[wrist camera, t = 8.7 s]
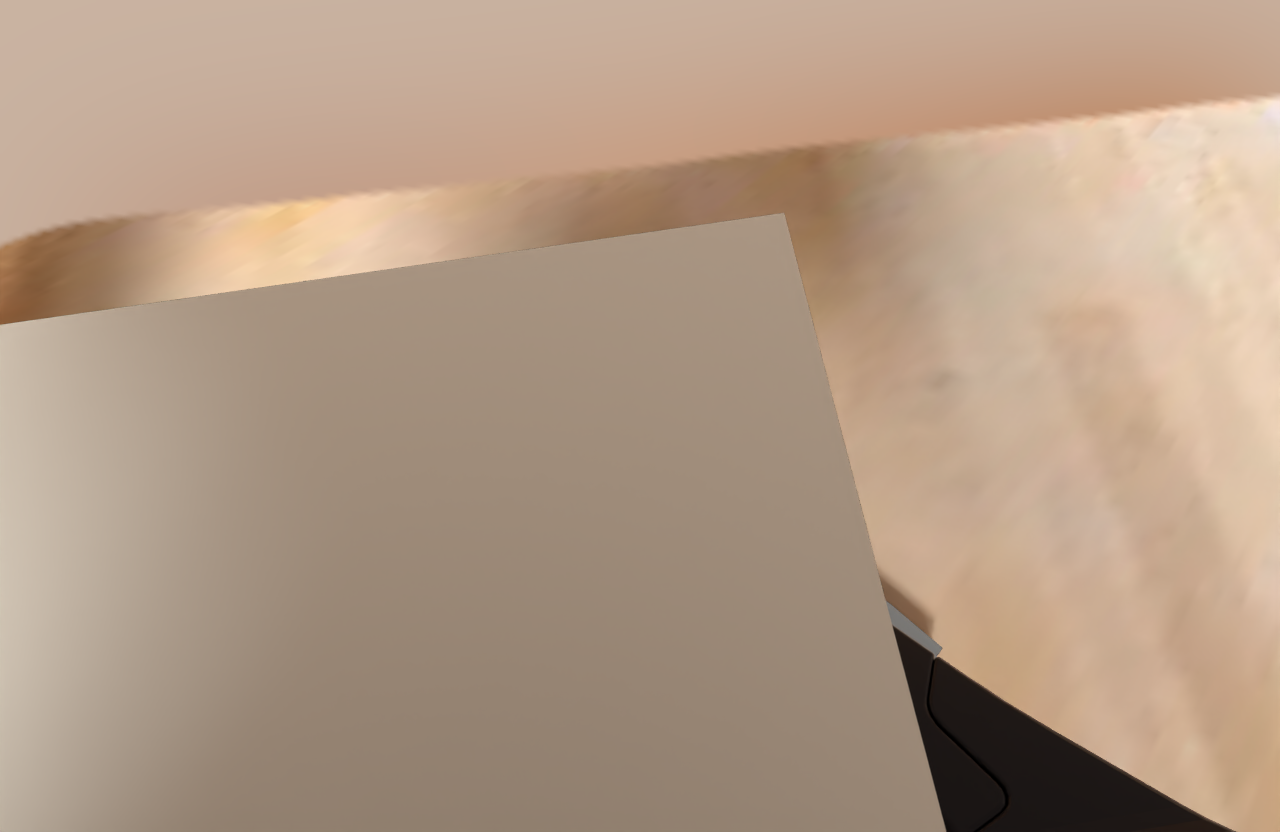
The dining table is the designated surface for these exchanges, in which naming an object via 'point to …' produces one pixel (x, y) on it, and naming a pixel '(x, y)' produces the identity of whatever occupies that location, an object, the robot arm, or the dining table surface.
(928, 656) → the robot arm
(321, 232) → the dining table surface
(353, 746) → the off-white block
